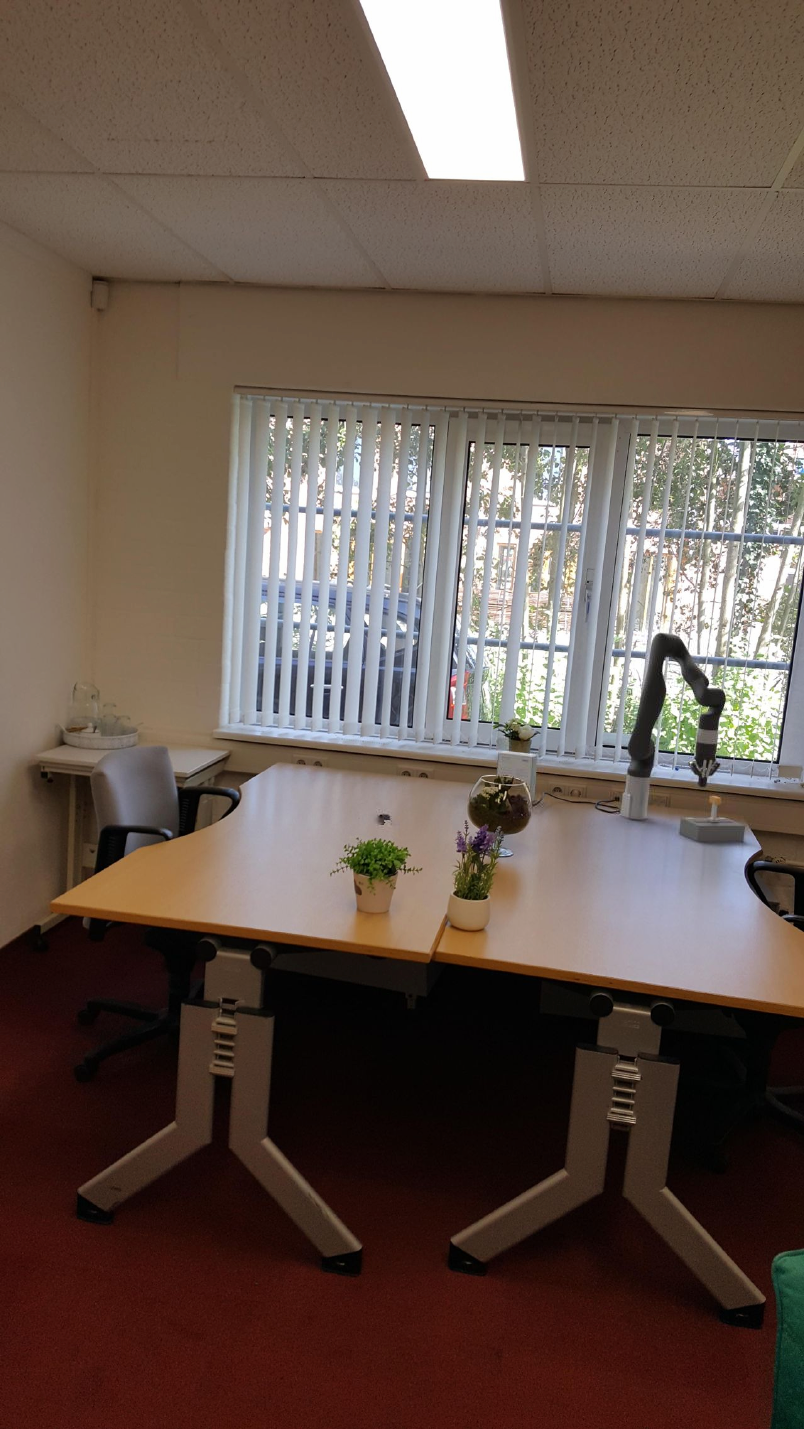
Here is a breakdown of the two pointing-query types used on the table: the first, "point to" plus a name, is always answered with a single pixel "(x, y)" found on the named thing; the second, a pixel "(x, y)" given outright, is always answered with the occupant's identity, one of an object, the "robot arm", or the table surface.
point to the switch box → (712, 830)
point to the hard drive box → (518, 767)
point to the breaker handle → (714, 808)
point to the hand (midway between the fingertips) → (702, 786)
